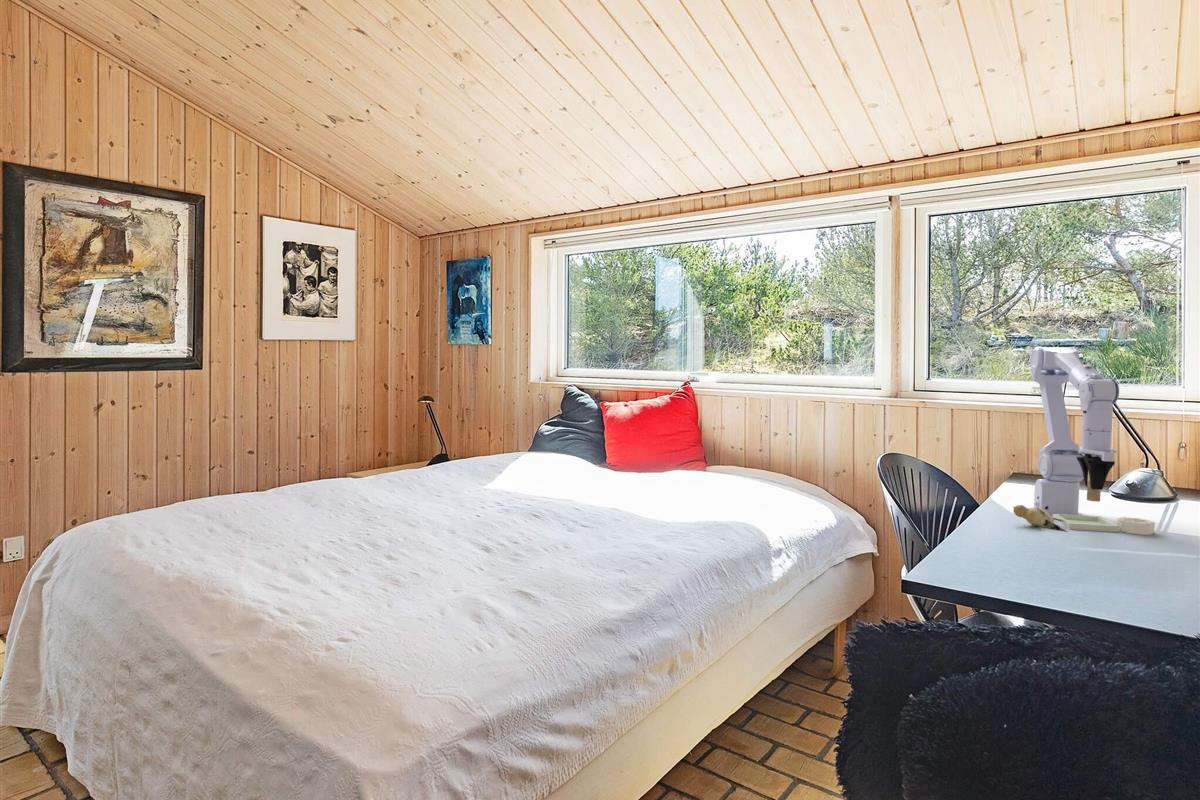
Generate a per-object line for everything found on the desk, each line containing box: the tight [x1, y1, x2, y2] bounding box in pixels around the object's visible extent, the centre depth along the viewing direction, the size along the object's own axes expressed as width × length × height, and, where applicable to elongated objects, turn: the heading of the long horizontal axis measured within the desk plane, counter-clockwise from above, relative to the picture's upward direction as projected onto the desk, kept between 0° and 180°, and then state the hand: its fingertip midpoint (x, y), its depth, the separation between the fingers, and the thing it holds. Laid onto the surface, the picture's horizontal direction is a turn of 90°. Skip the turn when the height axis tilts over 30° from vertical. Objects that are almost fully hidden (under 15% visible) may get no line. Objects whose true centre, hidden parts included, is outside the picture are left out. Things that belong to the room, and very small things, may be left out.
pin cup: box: [1116, 516, 1156, 536], centre depth 167 cm, size 6×6×3 cm
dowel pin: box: [1086, 471, 1102, 502], centre depth 171 cm, size 3×3×9 cm
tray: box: [1052, 514, 1120, 533], centre depth 172 cm, size 10×11×2 cm
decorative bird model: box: [1012, 504, 1068, 533], centre depth 171 cm, size 4×13×10 cm
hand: (1093, 488), depth 171 cm, fingers closed on dowel pin, 3 cm apart
